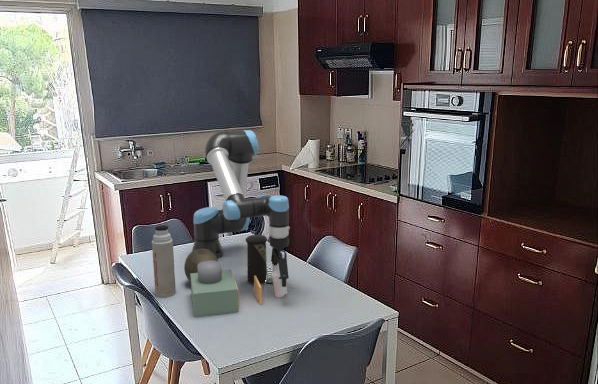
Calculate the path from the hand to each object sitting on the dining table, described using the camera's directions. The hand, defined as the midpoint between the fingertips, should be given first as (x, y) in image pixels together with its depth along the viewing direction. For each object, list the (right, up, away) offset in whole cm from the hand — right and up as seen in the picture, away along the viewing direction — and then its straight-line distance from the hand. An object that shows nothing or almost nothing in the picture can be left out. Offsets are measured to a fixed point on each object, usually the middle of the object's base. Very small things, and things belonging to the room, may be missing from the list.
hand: (279, 286), depth 195 cm
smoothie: (0, -4, +1) cm, 4 cm away
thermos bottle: (-46, -3, +3) cm, 46 cm away
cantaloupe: (-33, -1, +12) cm, 35 cm away
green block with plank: (-20, -5, -5) cm, 22 cm away
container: (-10, -1, +15) cm, 18 cm away
